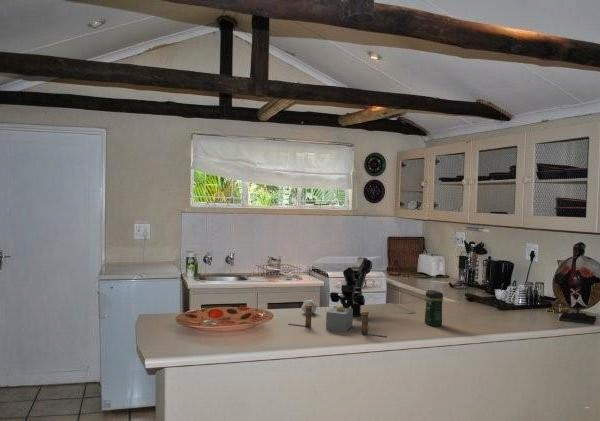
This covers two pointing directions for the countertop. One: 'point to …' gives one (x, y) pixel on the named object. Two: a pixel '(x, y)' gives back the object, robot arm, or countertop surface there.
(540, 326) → the countertop surface
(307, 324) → the brown l-shaped pieces
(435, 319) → the coffee jar
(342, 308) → the gray block
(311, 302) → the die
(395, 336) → the countertop surface
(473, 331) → the countertop surface
